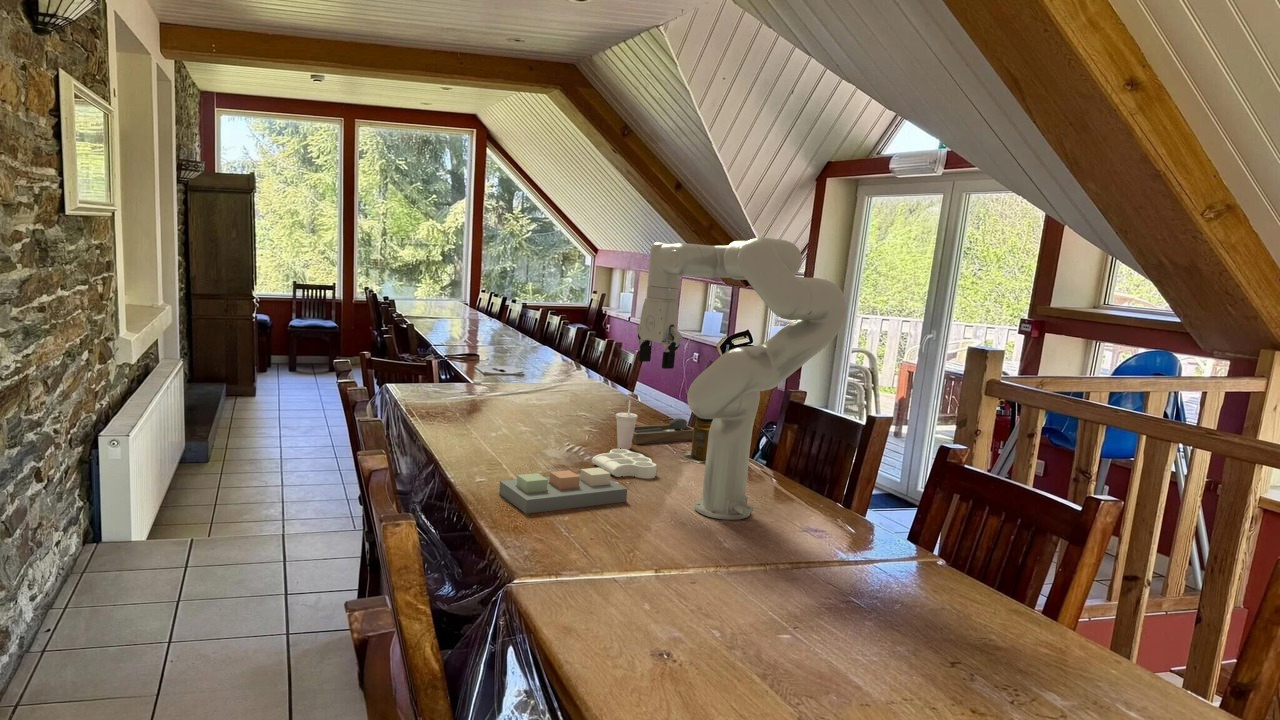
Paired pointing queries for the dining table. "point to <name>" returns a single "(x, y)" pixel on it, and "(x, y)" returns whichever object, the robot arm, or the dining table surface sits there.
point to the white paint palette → (626, 463)
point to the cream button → (595, 476)
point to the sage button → (532, 483)
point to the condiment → (699, 440)
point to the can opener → (674, 425)
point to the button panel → (562, 496)
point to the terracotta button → (564, 479)
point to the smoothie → (625, 428)
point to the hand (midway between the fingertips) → (655, 364)
